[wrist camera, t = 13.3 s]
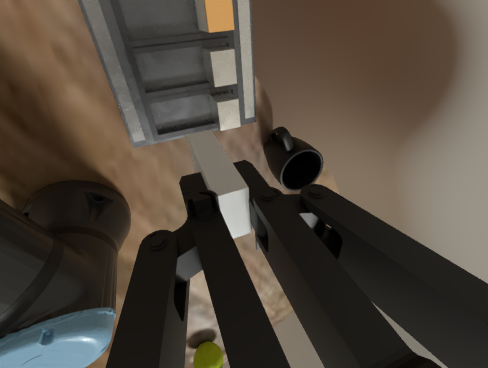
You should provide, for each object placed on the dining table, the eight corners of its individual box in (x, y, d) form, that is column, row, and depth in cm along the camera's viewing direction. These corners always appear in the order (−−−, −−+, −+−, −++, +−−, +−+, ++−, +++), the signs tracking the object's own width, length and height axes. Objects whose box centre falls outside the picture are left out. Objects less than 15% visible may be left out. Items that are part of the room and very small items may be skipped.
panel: (133, 143, 38) (134, 163, 33) (70, -25, 26) (56, -33, 21) (253, 118, 43) (268, 132, 38) (245, -33, 31) (267, -42, 26)
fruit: (215, 347, 86) (224, 379, 78) (189, 354, 82) (195, 389, 74) (221, 332, 82) (230, 365, 74) (193, 339, 78) (199, 375, 70)
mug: (282, 101, 43) (313, 119, 36) (299, 151, 51) (327, 175, 44) (242, 125, 43) (265, 148, 36) (265, 172, 51) (288, 199, 43)
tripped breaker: (198, 29, 32) (209, 32, 27) (193, -10, 29) (203, -13, 25) (221, 27, 32) (234, 29, 28) (217, -12, 30) (230, -15, 26)
